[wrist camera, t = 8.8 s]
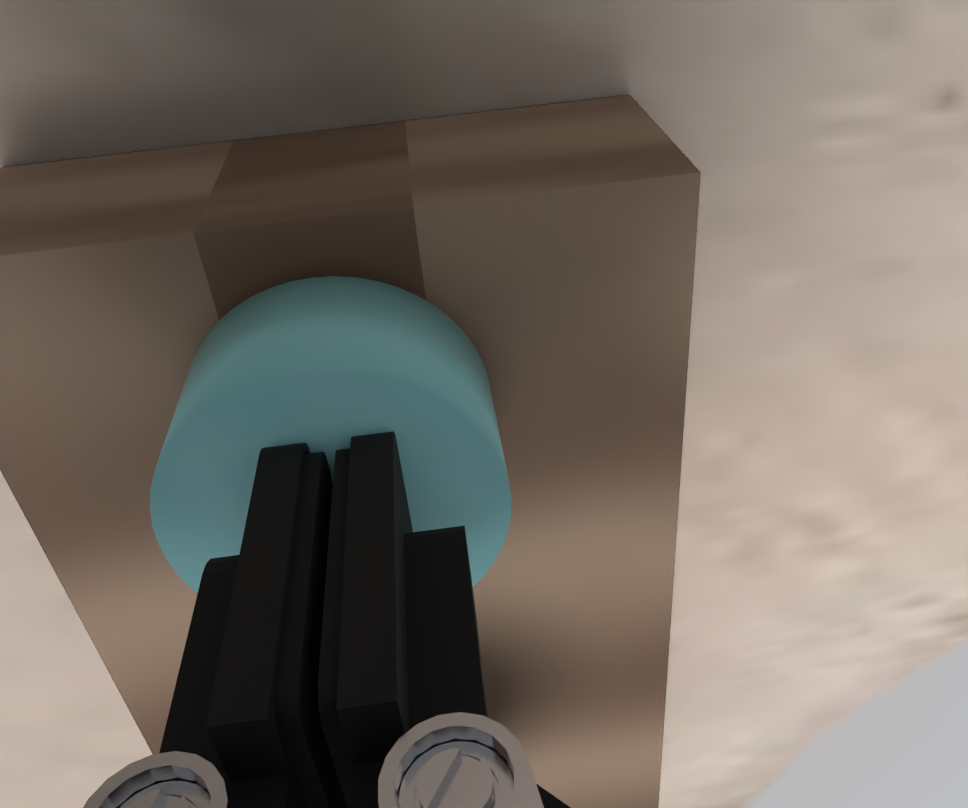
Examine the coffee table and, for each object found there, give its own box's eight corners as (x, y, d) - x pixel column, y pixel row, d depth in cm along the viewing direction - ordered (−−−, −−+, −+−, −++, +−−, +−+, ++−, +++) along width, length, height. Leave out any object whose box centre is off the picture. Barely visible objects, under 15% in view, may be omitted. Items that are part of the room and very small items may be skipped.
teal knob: (195, 192, 15) (95, 396, 10) (456, 161, 15) (498, 345, 10) (257, 405, 17) (205, 657, 12) (478, 377, 18) (521, 613, 12)
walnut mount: (1, 167, 15) (-108, 268, 11) (630, 94, 15) (700, 172, 12) (282, 833, 27) (269, 971, 24) (618, 784, 28) (651, 914, 24)
